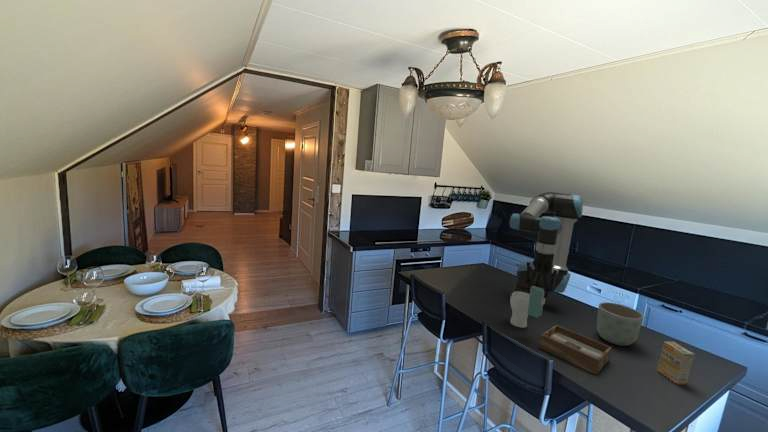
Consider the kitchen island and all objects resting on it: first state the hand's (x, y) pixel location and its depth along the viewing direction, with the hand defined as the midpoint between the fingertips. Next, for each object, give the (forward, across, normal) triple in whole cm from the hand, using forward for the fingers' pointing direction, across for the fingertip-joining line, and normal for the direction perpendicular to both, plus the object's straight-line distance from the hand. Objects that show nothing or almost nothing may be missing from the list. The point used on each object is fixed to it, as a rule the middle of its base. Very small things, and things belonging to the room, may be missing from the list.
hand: (536, 301), depth 146 cm
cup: (+18, -10, +8) cm, 22 cm away
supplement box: (+18, +47, +19) cm, 53 cm away
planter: (+18, +24, +33) cm, 44 cm away
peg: (+6, 0, 0) cm, 6 cm away
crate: (+17, +17, +2) cm, 24 cm away
